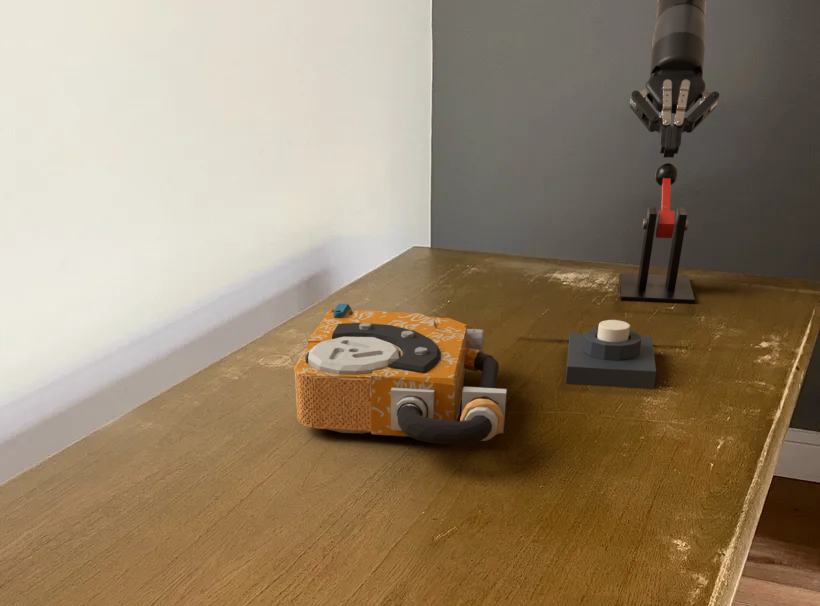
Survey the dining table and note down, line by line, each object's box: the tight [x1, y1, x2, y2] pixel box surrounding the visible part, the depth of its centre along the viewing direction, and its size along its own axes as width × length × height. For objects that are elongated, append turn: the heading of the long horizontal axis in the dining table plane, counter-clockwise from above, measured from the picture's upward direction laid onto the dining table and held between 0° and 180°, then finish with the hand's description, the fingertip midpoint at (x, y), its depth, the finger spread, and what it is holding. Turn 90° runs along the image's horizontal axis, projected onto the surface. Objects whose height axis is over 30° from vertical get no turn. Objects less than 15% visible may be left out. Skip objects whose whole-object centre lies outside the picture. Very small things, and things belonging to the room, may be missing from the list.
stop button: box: [597, 319, 631, 342], centre depth 113 cm, size 4×4×2 cm
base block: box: [565, 327, 657, 390], centre depth 114 cm, size 12×10×4 cm
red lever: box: [654, 162, 679, 239], centre depth 136 cm, size 14×3×3 cm, turn 169°
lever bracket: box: [618, 206, 696, 305], centre depth 136 cm, size 12×10×12 cm
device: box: [293, 302, 508, 446], centre depth 103 cm, size 23×8×30 cm
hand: (669, 153), depth 138 cm, fingers closed
